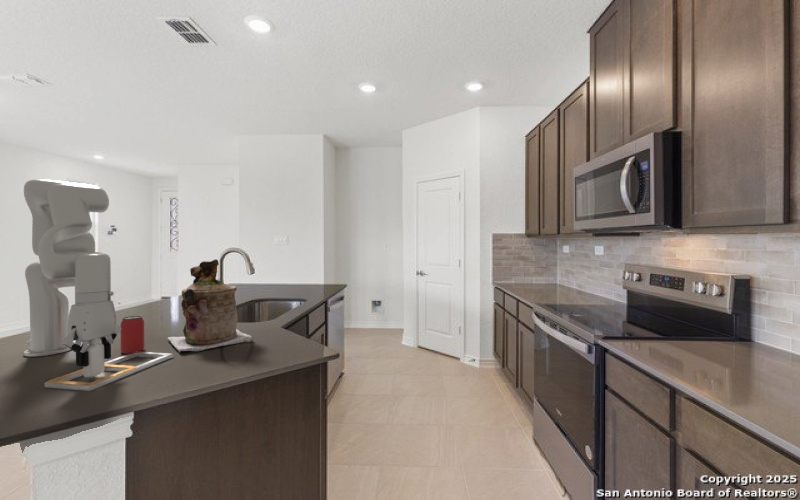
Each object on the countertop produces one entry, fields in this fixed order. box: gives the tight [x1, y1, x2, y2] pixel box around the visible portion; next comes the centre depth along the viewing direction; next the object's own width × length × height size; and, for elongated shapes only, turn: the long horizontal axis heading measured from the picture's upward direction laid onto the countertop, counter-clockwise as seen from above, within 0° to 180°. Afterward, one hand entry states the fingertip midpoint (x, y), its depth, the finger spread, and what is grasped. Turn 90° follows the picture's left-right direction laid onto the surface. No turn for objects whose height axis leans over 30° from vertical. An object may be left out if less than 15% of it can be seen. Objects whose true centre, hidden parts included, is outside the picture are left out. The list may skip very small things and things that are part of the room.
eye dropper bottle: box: [83, 338, 106, 378], centre depth 96 cm, size 4×6×12 cm
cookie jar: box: [167, 259, 253, 353], centre depth 133 cm, size 25×25×32 cm
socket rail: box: [44, 351, 174, 392], centre depth 103 cm, size 14×26×1 cm, turn 171°
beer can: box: [119, 315, 145, 355], centre depth 121 cm, size 7×7×12 cm
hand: (94, 361), depth 96 cm, fingers closed on eye dropper bottle, 5 cm apart
